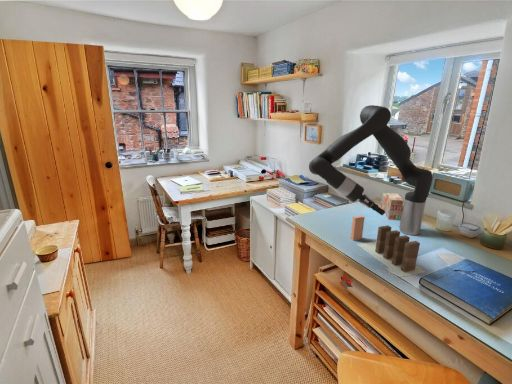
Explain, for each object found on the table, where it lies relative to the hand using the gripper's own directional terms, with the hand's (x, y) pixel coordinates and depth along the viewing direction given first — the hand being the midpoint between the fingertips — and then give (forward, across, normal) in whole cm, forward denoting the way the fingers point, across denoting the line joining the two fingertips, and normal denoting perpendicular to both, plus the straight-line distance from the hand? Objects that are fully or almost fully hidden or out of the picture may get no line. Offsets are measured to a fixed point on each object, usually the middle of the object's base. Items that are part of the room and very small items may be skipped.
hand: (380, 211), depth 120 cm
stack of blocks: (+25, +52, -2) cm, 57 cm away
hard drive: (+37, -2, 0) cm, 37 cm away
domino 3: (+17, -6, +13) cm, 22 cm away
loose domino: (+5, +15, +18) cm, 24 cm away
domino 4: (+19, -10, +12) cm, 25 cm away
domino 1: (+13, +3, +14) cm, 19 cm away
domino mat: (+15, -1, +14) cm, 21 cm away
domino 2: (+15, -1, +14) cm, 20 cm away
